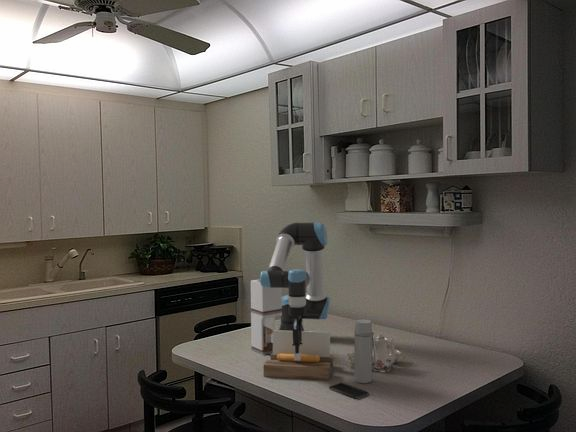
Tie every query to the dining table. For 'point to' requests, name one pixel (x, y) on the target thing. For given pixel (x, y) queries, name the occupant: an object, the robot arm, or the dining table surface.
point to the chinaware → (380, 354)
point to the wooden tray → (299, 368)
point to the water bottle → (363, 351)
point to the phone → (348, 391)
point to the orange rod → (303, 358)
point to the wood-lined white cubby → (264, 316)
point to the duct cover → (311, 342)
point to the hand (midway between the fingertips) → (297, 360)
